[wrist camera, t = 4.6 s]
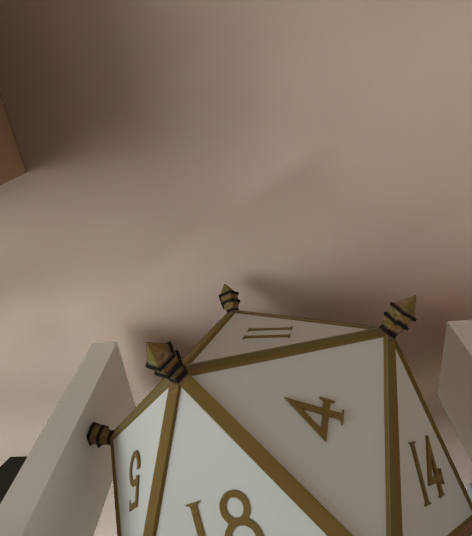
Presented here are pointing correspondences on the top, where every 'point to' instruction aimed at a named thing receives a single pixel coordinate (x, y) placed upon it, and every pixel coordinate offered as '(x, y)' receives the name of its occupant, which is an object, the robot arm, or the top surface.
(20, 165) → the walnut cube
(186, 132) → the top surface
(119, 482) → the game die
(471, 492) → the slate grey cube
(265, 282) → the top surface
